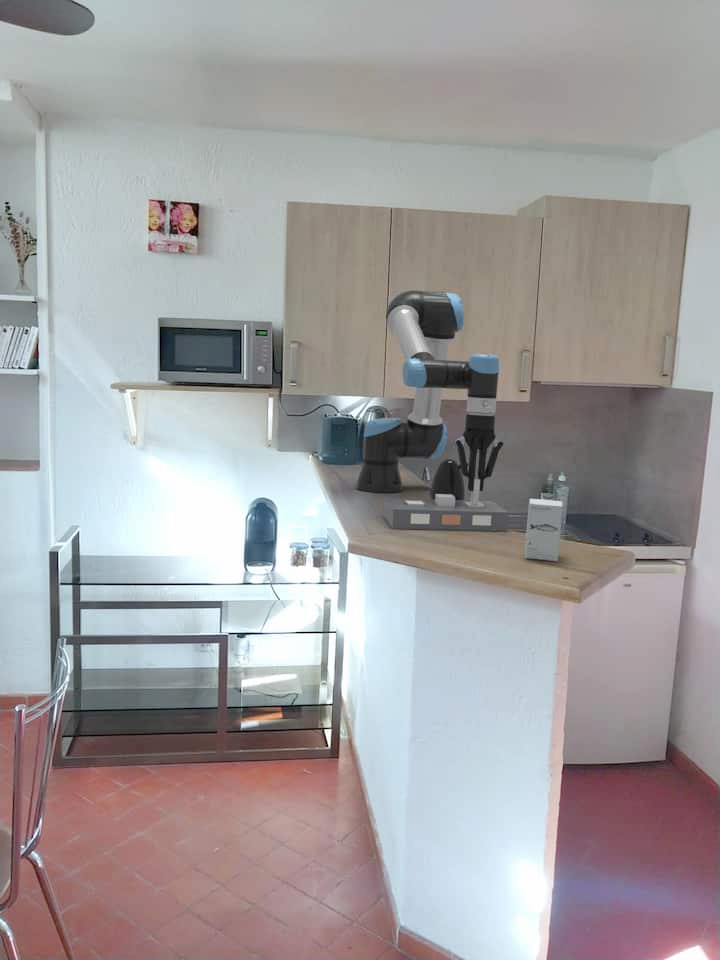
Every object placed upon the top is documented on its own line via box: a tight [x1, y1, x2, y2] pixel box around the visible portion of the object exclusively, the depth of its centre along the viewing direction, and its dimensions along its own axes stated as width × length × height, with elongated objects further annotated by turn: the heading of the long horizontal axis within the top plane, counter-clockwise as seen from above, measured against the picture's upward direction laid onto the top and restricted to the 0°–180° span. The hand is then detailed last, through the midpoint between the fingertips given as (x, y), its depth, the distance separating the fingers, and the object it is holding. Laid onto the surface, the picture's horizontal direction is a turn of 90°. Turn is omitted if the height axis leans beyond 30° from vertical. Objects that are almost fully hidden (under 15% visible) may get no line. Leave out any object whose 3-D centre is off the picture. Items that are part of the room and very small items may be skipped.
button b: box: [435, 494, 455, 507], centre depth 209 cm, size 4×4×4 cm
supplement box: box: [524, 498, 564, 563], centre depth 177 cm, size 7×7×13 cm
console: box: [382, 497, 510, 532], centre depth 209 cm, size 16×30×5 cm, turn 96°
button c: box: [464, 502, 485, 508], centre depth 210 cm, size 4×4×4 cm
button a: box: [405, 501, 425, 506], centre depth 208 cm, size 4×4×4 cm
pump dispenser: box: [429, 458, 469, 500], centre depth 227 cm, size 10×10×15 cm
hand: (474, 502), depth 210 cm, fingers closed
